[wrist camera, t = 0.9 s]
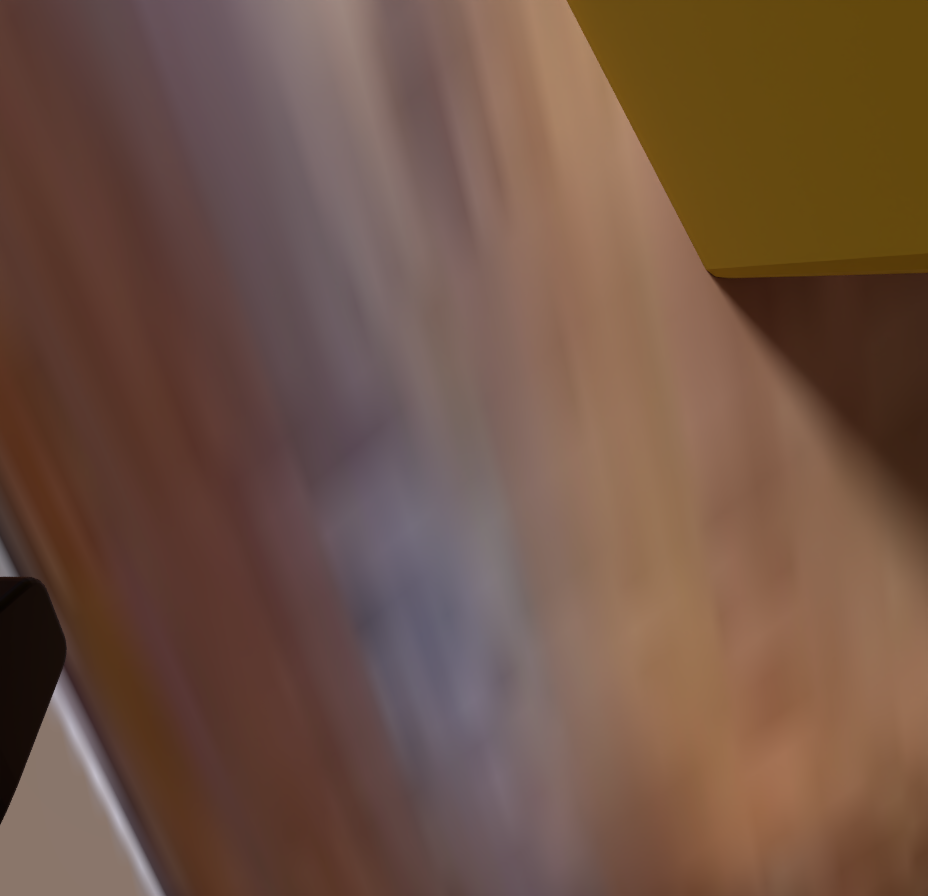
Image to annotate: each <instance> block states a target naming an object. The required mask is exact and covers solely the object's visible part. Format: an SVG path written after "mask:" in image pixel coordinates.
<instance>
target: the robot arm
mask: <svg viewBox="0 0 928 896" xmlns="http://www.w3.org/2000/svg"><path fill="white" fill-rule="evenodd" d="M66 649H67V647H66V640H65V636H64V633H63V631H62V628H61V626H60V623H59V620H58V618H57V615H56V613H55V610H54V607H53V605H52V602H51V600H50V597H49V594H48V592H47V589H46V587H45V585H44V584H43V583H42V582H41V581H39V580H38V579H35V578H32V577H0V824H1V822H2V820H3V818H4V816H5V813H6V812H7V809H8V807H9V805H10V802H11V800H12V797H13V795H14V793H15V791H16V788H17V786H18V783H19V781H20V778H21V776H22V773H23V770H24V768H25V765H26V762H27V760H28V757H29V755H30V752H31V750H32V747H33V744H34V742H35V739H36V736H37V734H38V731H39V729H40V726H41V723H42V721H43V718H44V716H45V713H46V711H47V708H48V705H49V703H50V700H51V698H52V695H53V692H54V690H55V687H56V685H57V682H58V679H59V677H60V674H61V672H62V669H63V666H64V663H65V658H66Z"/></svg>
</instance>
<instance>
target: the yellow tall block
mask: <svg viewBox="0 0 928 896" xmlns="http://www.w3.org/2000/svg"><path fill="white" fill-rule="evenodd" d="M567 2H568V4H569V6H570V8H571V10H572V12H573V14H574V15H575V17H576V19H577V21H578V23H579V25H580V27H581V29H582V31H583V33H584V35H585V37H586V39H587V41H588V43H589V45H590V46H591V48H592V50H593V52H594V54H595V56H596V58H597V60H598V62H599V64H600V66H601V68H602V70H603V72H604V74H605V75H606V77H607V79H608V81H609V83H610V85H611V87H612V89H613V91H614V93H615V95H616V97H617V99H618V101H619V103H620V104H621V106H622V108H623V110H624V112H625V114H626V116H627V118H628V120H629V122H630V124H631V126H632V128H633V130H634V132H635V133H636V135H637V137H638V139H639V141H640V143H641V145H642V147H643V149H644V151H645V153H646V155H647V157H648V159H649V161H650V163H651V164H652V166H653V168H654V170H655V172H656V174H657V176H658V178H659V180H660V182H661V184H662V186H663V188H664V190H665V192H666V193H667V195H668V197H669V199H670V201H671V203H672V205H673V207H674V209H675V211H676V213H677V215H678V217H679V219H680V221H681V222H682V224H683V226H684V228H685V230H686V232H687V234H688V236H689V238H690V240H691V242H692V244H693V246H694V248H695V250H696V251H697V253H698V255H699V257H700V259H701V261H702V263H703V265H704V267H705V269H706V270H707V271H709V272H710V273H711V274H713V275H714V276H715V277H723V278H755V277H792V276H829V275H866V274H903V273H928V0H567Z"/></svg>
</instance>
